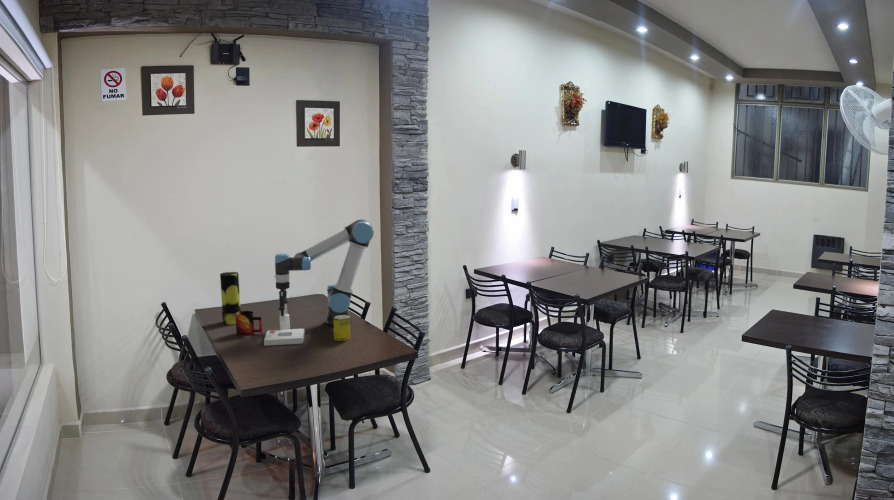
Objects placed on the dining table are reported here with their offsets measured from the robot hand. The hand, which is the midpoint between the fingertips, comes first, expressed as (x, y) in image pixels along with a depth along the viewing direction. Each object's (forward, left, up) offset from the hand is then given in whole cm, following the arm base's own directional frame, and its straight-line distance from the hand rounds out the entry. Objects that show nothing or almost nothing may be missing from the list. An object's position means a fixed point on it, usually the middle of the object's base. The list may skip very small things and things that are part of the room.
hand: (283, 318), depth 350 cm
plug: (0, 0, -8) cm, 8 cm away
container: (+33, -27, -9) cm, 43 cm away
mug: (+19, -2, -9) cm, 21 cm away
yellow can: (-32, +18, -9) cm, 38 cm away
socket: (-1, +14, -8) cm, 16 cm away
